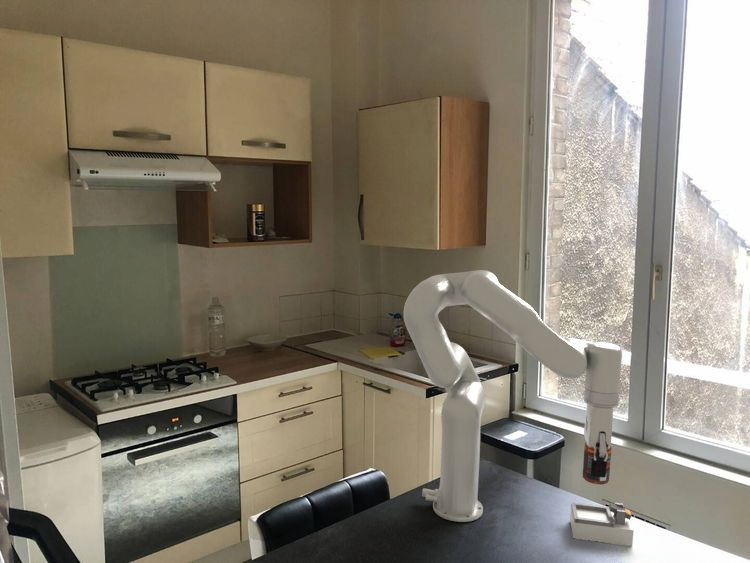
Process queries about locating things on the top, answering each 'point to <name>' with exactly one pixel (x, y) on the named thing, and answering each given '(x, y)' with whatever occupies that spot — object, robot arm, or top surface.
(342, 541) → the top surface
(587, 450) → the supplement bottle
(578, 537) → the box
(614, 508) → the breaker lever
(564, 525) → the top surface
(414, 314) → the robot arm
